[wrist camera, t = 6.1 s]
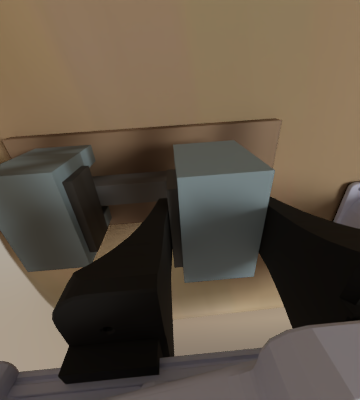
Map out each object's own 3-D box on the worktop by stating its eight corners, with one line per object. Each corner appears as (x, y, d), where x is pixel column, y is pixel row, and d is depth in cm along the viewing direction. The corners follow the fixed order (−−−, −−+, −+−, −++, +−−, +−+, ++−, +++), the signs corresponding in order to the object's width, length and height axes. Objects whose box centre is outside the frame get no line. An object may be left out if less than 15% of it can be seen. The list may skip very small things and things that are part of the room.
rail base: (275, 118, 15) (342, 135, 9) (259, 206, 19) (299, 256, 13) (11, 137, 14) (-90, 167, 9) (53, 223, 18) (2, 282, 13)
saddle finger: (233, 140, 13) (274, 170, 8) (227, 220, 16) (253, 276, 11) (165, 145, 12) (164, 178, 8) (173, 225, 16) (175, 283, 11)
